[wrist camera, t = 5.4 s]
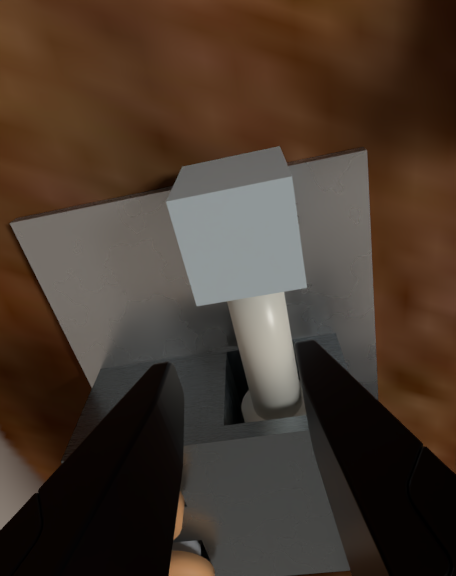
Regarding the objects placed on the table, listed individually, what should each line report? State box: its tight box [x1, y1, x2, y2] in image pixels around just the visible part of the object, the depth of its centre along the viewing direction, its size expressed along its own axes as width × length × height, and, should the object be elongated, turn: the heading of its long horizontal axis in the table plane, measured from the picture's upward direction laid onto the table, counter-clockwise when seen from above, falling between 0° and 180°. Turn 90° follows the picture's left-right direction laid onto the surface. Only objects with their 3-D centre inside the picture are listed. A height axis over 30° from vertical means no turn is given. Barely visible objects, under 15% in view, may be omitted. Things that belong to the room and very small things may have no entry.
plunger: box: [169, 540, 215, 576], centre depth 22 cm, size 4×4×4 cm
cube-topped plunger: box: [166, 146, 307, 423], centre depth 20 cm, size 20×4×4 cm, turn 12°
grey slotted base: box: [10, 147, 378, 576], centre depth 21 cm, size 21×16×7 cm
